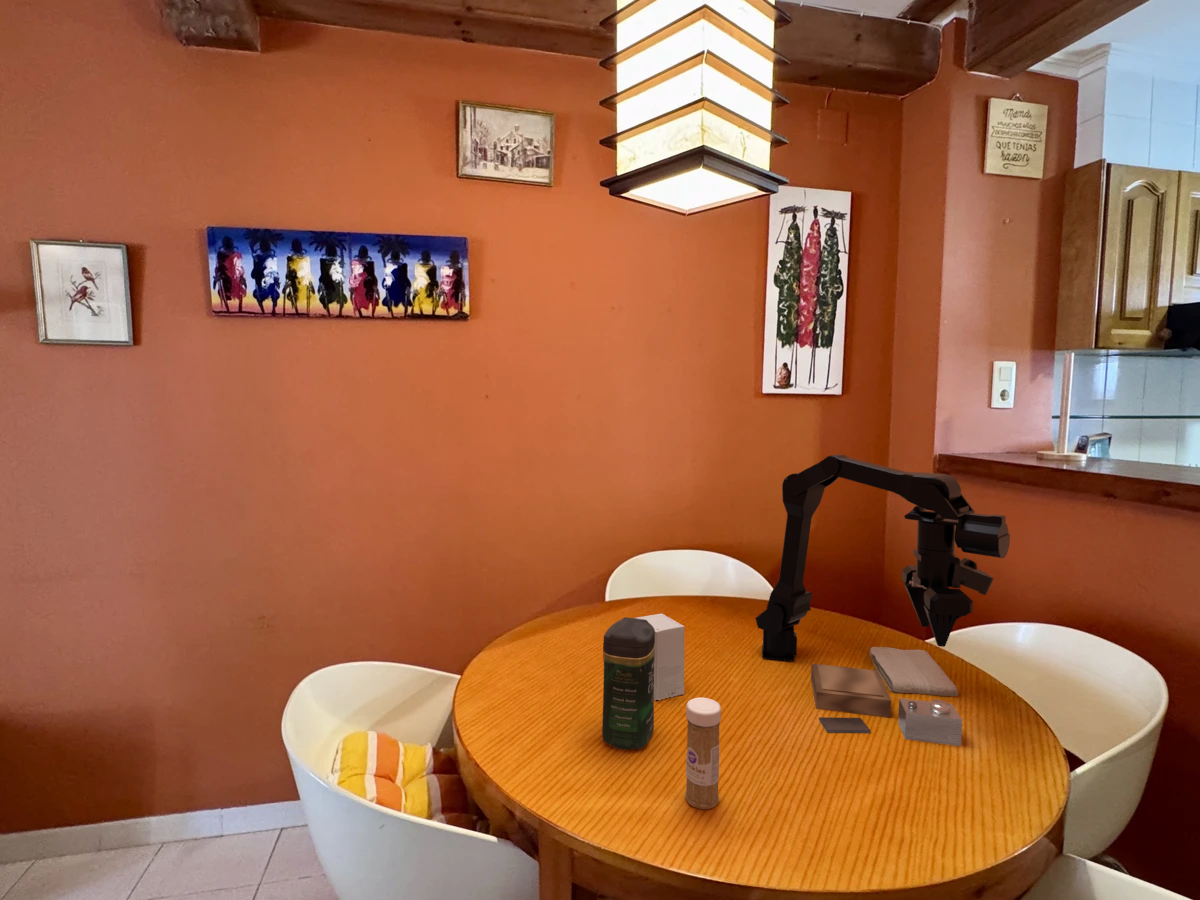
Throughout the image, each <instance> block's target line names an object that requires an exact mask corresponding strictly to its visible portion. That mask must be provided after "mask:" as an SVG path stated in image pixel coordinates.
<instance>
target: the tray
mask: <svg viewBox="0 0 1200 900" xmlns="http://www.w3.org/2000/svg"><path fill="white" fill-rule="evenodd" d="M810 666H811V667H810V680H811V681H810V682H811V686H812V693H813V696H814V703H815V709H816V710H817V709H819V710H827V711H833V712H834V711H835V712H842V713H850V714H852V713H853V714H859V715H860V714H861V715H866V716H874V717H876V716H877V717H885V718H891V714H892V713H891V710H892V700H891V697H890V695H889V692H888V690H887V688H886V686H885V682H884V680H883V678H882V677H881V675H880V674H879V671H878V670H877V669H869V668H865V669H864V668H857V667H848V666H847V667H846V666H838V665H831V664H830V665H828V664H819V663H811V665H810Z"/></svg>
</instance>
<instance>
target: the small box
mask: <svg viewBox="0 0 1200 900" xmlns="http://www.w3.org/2000/svg"><path fill="white" fill-rule="evenodd" d="M635 618H636V619H644V620H647V621H648V622H649V623H650V624H651V625H652V626H653V627H654V629H655V658H654V660H655V661H654V702H657V701H656V700H659V701H661V700H660V699H663V700H665V699H664V698H667V699H670V698H669V697H671V698H674V696H675V697H677V696H678V695H679V696H682V695H684V694H685V625H682V624H681V623H679V622H677V621H675V620H674V619H672V618H671V617H669V616H667V615H665V614H664V613H657V614H656V613H655V614H651V615H650V614H649V615H644V616H638V617H637V616H636V617H635Z"/></svg>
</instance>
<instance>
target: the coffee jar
mask: <svg viewBox="0 0 1200 900" xmlns="http://www.w3.org/2000/svg"><path fill="white" fill-rule="evenodd" d="M636 618H637V617H627V616H625V617H623V618H622V619H619V620H618V621H616V622H615V623H613V624H611V625H610V626H609V628H608V629H607V630H606V631H605V633H604V635H603V643H602V644H603V645H602V646H603V647H602V655H603V686H602V687H603V689H602V691H603V694H602V695H603V697H602V719H601V720H602V723H601V725H602V727H601V728H602V729H601V737H602V740H603V742H605V743H606V744H608V745H610V746H612V747H613V748H616V749H618V750H624V749H625V750H626V751H628V750H638V749H643V748H645V746H647V744H648V743H649V742H650V740H651V738H652V735H653V733H654V727H655V700H654V661H655V660H654V658H655V629H654V627H653V626H652V625H651V624H650V623H649V622H648V621H647V620H644V619H636Z"/></svg>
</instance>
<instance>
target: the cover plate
mask: <svg viewBox="0 0 1200 900" xmlns="http://www.w3.org/2000/svg"><path fill="white" fill-rule="evenodd" d="M818 721H819V722H820V724H821V725H822V727H823V729H824V730H825V731H826V733H829V734H871V729H870V728H869V726H868V725H867V724H866V723H865V722H864V720H863V718H861V717H831V716H830V717H829V716H827V717H824V716H822V717H821V716H820V717H818Z"/></svg>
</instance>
